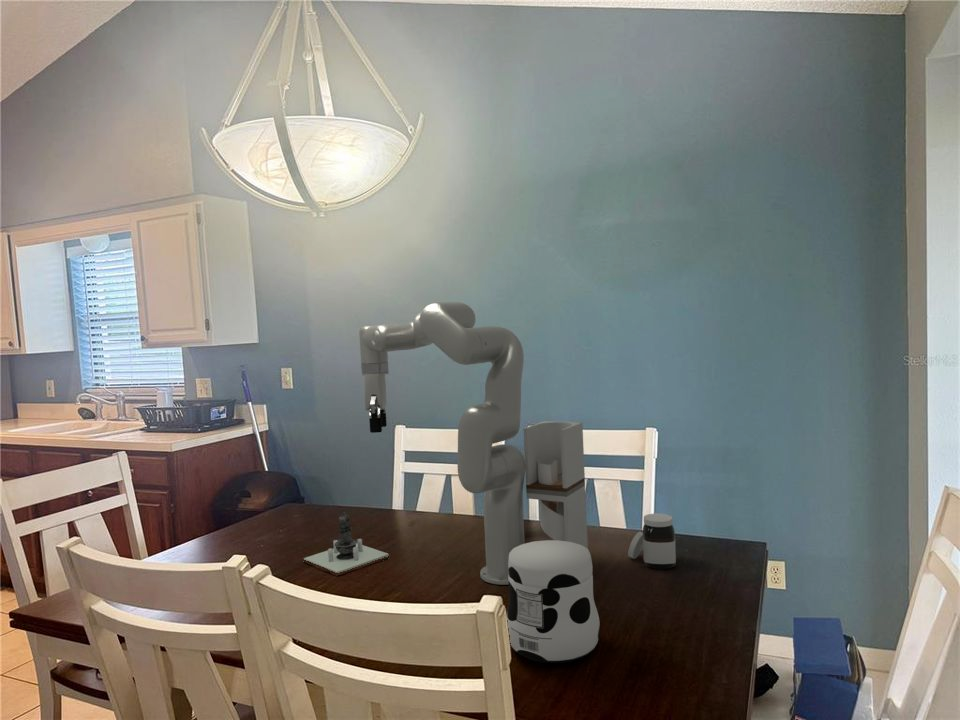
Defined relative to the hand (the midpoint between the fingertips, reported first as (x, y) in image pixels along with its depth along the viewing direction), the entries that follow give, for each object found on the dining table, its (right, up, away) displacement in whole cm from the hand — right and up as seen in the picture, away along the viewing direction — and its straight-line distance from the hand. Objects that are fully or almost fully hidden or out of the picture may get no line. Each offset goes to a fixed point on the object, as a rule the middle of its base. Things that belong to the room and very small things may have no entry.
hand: (378, 429), depth 190 cm
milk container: (+42, -34, -65) cm, 85 cm away
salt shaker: (-7, -32, -12) cm, 35 cm away
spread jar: (+71, -31, -25) cm, 81 cm away
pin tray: (-7, -33, -12) cm, 36 cm away
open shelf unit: (+48, -32, -23) cm, 62 cm away
